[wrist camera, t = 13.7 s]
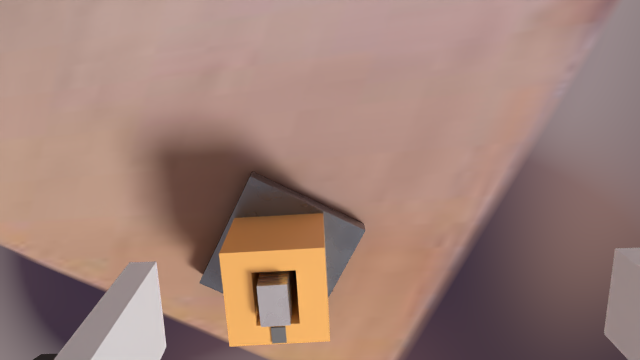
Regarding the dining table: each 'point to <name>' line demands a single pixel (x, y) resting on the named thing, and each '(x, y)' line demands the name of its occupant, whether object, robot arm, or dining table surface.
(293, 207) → the post plate
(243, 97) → the dining table surface
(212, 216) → the dining table surface
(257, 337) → the orange slotted box
